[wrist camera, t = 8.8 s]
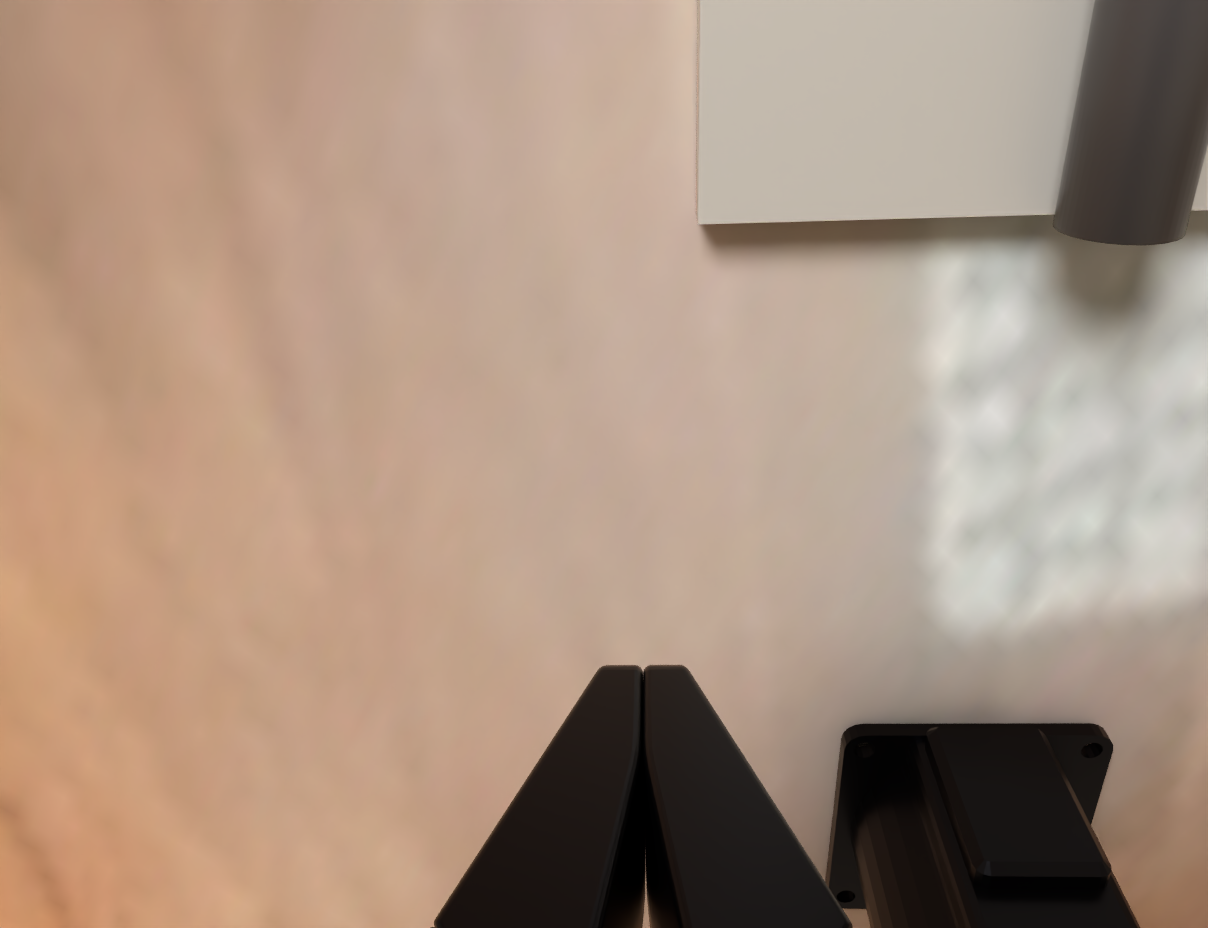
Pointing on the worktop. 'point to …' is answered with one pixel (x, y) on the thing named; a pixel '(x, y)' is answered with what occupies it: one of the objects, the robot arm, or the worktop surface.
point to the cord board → (955, 112)
